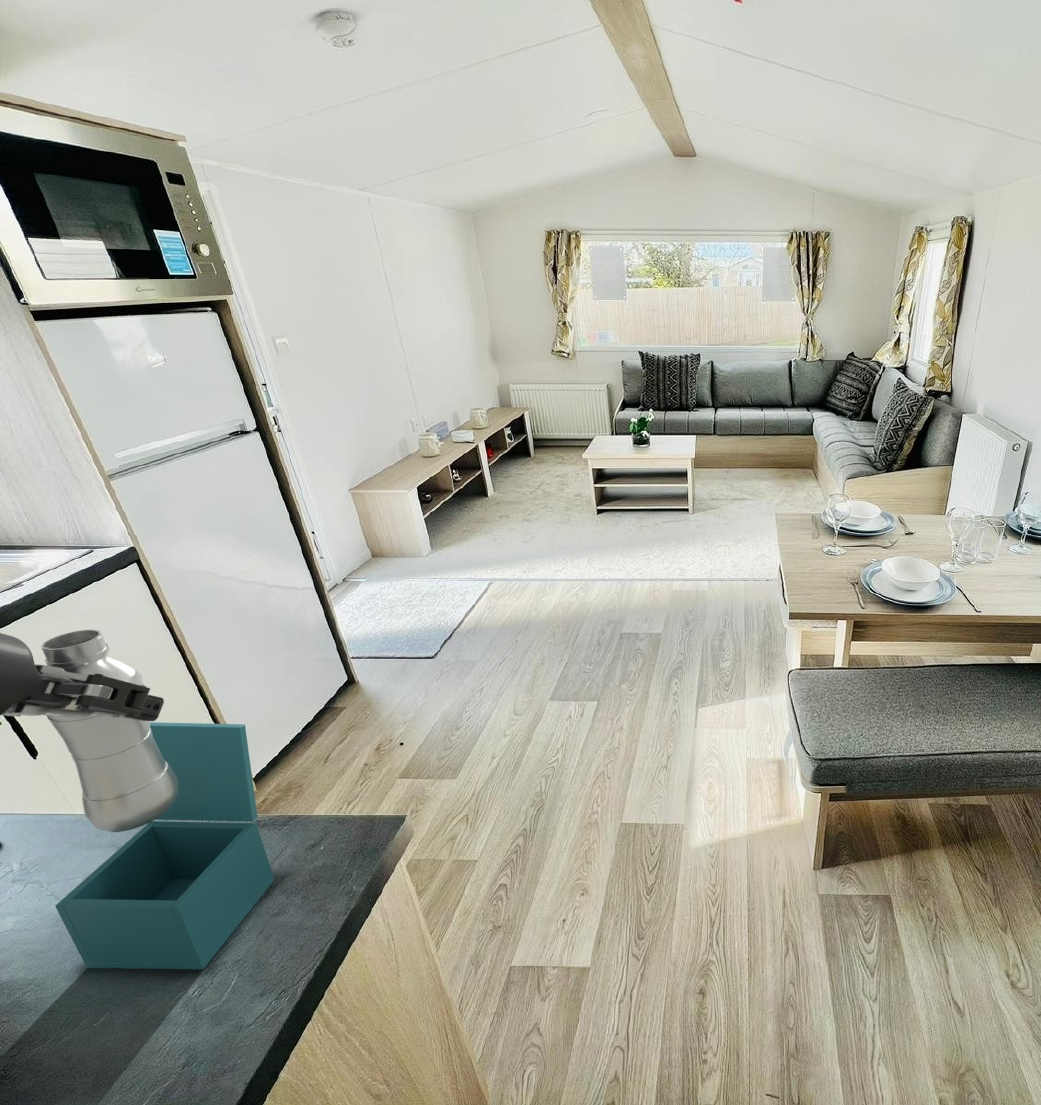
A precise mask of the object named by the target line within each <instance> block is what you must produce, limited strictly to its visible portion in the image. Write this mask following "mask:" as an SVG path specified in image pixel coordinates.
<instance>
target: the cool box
mask: <svg viewBox="0 0 1041 1105" xmlns="http://www.w3.org/2000/svg"><path fill="white" fill-rule="evenodd" d="M273 882H275V877H274V874H273V871H272V868H271V865H270V862H269V859H268V855H267V852H266V848H265V846H264V843H263V840H262V837H261V834H260V830H259V828H258V824H257V822H231V821H178V820H153V821H151V822H150V823H147V824H145V825H144V826H143V827H142V828H141V829H140V830H139V831H138V832H136V834H134V835H133V836H132V837H131V838H130V839H129V840H127V842H125V843H123V845H122V846H121V847H119V849H117V850H116V851H115V852H114V853H113V854H112V855H111V856H110V857H109V858H107V859H106V860H105V861H104V862H103V863H102V864H101V865H99V866H98V867H97V868H96V869H95V870H94V871H92V872H91V874H89V875H88V876H87V877H86V878H85V879H83V881H81V882H80V883H79V884H78V885H76V886H75V887H74V888H73V889H72V890H71V891H70V892H69V893H68V894H67V895H65V896H64V897H63V898H62V899H61V900H60V901H59V902H58V903H56V904H55V910H57V913H58V914H59V916H60V918H61V920H62V922H63V924H64V926H65V928H66V930H67V932H68V934H69V936H70V939H71V940H72V942H73V943H74V946H75V948H76V950H77V952H78V953H79V955H80V957H81V959H82V961H83V963H84V966H85V967H86V968H87V969H132V970H133V969H137V970H139V969H141V970H142V969H143V970H205V968H206V967H207V966H208V964H209V963H210V962H211V960H212V959H213V958H214V957H215V956H216V955H217V953H218V952H219V951H220V950H221V948H222V947H223V946H224V944H225V943H226V941H228V939H229V938H230V937H231V936H232V934H233V933H234V932H235V931H236V929H237V928H238V927H239V925H240V924H241V923H242V922H243V920H245V918H246V917H247V915H248V914H249V913H250V912H251V910H252V909H253V908H254V907H255V905H256V904H257V903H258V902H259V900H260V899H261V898H262V897H263V895H265V893H266V891H267V890H268V889H269V888H270V886H271V885H272V884H273Z"/></svg>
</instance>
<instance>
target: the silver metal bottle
mask: <svg viewBox="0 0 1041 1105" xmlns="http://www.w3.org/2000/svg"><path fill="white" fill-rule="evenodd" d="M40 647H41V650H42V653H43V656H44V657H45V660H44V661H45V665H47V666H53V667H59V668H63V669H64V670H65V671H66V672H71V673H77V674H83V675H95V674H103V676H106V677H110V678H114V679H118V680H121V681H125V682H129V683H133V684H136V685H143V686H145V685H144V681H143V676H142V675H141V673H139V671H138V670H137V669H136V668H135V667H133V666H132V665H130V664H129V663H126V662H125V661H122V660H121V659H119V658H116V657H114V656H111V655H109V654H108V653H109V652H110V647H109V644H108V643H107V642H106V640H105V639H104V636H103V634H102V633H101V631H100V630H97V629H82V630H81V629H80V630H76V631H71V632H67V633H63V634H62V633H61V634H60V635H59V634H58V635H57V636H54V637H52V638H50V639H47V640H46V641H44V642H42V644H41V646H40ZM73 682H74V683H75V684H83V683H81V682H75V681H73ZM77 699H78V697H74V698H73V700H72V702H71V704H70V705H68V706H66V707H65V708H63V709H71V710H74V709H75V708H77V705H75V703H76V701H77ZM44 716H46V717H47V720H48V721H49V722H50V723H51V725H52V726H53V727H54V729H55V730H56V732H57V734H58V735H59V737H61V739H62V741H63V742H64V745H65V746H66V748H67V751H68V753H70V755H71V758H72V760H73V762H74V764H75V767H76V772H77V775H78V780H79V783H80V787H81V789H82V792H81V801H82V808H83V813H84V817H85V818H86V819H87V820H88V821H89V822H90V824H91V825H92V826H93V827H94V828H95V829H97V830H100V831H104V832H108V833H123V832H127V831H131V830H135V829H138V828H140V827H144V826H146V825H147V824H148V823H150V822H151V821H156V820H155V819H157V818H158V817H160V816H162V815H163V814H164V813H166V812H167V811H168V810H169V809H170V808H171V806H172V805H173V804H174V802H175V800H176V798H177V796H178V791H179V790H178V779H177V777H176V775H175V773H174V772H173V770H172V768H171V767H170V765H169V764H168V763H167V762H166V761H165V760H164V758H163V756H162V754H161V752H160V750H159V748H158V746H157V744H156V742H155V740H154V738H153V734H152V730H151V728H150V723H149V722H150V721H142V720H137V719H131V718H125V717H119V718H113V717H112V716H108V715H100V714H92V715H91V716H89V717H84V718H72V717H64V716H55V715H46V714H45V715H44Z"/></svg>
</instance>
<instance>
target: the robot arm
mask: <svg viewBox="0 0 1041 1105" xmlns="http://www.w3.org/2000/svg"><path fill="white" fill-rule="evenodd" d="M73 681H75V682H81V683H83V684H75V683H74V682H73ZM143 685H144V684H143ZM143 685H136V684H133V683H129V682H125V681H121V680H118V679H114V678H110V677H106V676H103V674H95V675H83V674H77V673H71V672H66V671H65V670H64V669H63V668H59V667H53V666H47V664H36V663H35V660H34V656H33V653H32V651H31V649H30V647H29V646H28V645H27V644H26V643H25V642H24V641H22V640H21V639H19V638H18V637H15V636H12V635H9V634H5V633H3V632H0V716H5V717H6V716H7V717H22V716H26V717H38V716H46V715H55V716H64V717H72V718H84V717H89V716H91V715H92V714H100V715H108V716H112V717H113V718H119V717H125V718H131V719H137V720H142V721H149V722H155V721H157V720H158V718H159V715H160V714H161V711H162V710H163V709H162V708H163V706H164V703H165V699H164V698H163V697H160V696H158V695H157V696H156V695H152V694H150V691H151V687H147V686H146V685H144V686H143ZM74 697H78V699H77V701H76V703H75V705H77V708H75V709H74V710H71V709H63V708H65V707H66V706H68V705H70V704H71V702H72V700H73V698H74ZM45 714H46V715H45Z"/></svg>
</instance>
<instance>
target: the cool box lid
mask: <svg viewBox="0 0 1041 1105" xmlns="http://www.w3.org/2000/svg"><path fill="white" fill-rule="evenodd" d="M149 723H150V728H151V730H152V734H153V738H154V740H155V742H156V744H157V746H158V748H159V750H160V752H161V754H162V756H163V758H164V760H165V761H166V762H167V763H168V764H169V765H170V767H171V768H172V770H173V772H174V773H175V775H176V777H177V779H178V790H179V791H178V796H177V798H176V800H175V802H174V804H173V805H172V806H171V808H170V809H169V810H168V811H167V812H166V813H164V814H163V815H162V816H160V817H158V818H157V819H155V820H154V821H201V822H253V821H255V820H256V819H258V811H257V802H256V795H255V789H254V780H253V773H252V765H251V760H250V759H251V758H250V751H249V745H248V738H247V729H246V724H245V723H244V724H240V723H239V724H238V723H236V724H235V723H201V722H200V723H198V722H197V723H194V722H193V723H192V722H155V721H149Z"/></svg>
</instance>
